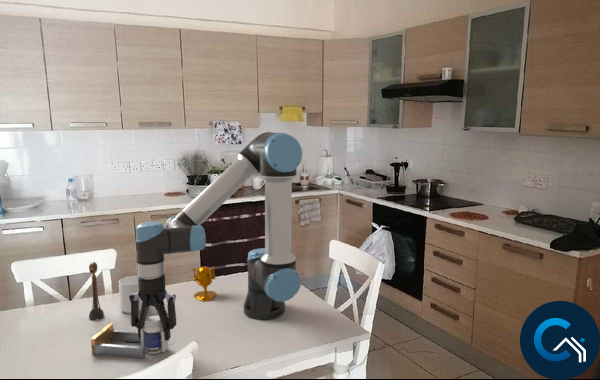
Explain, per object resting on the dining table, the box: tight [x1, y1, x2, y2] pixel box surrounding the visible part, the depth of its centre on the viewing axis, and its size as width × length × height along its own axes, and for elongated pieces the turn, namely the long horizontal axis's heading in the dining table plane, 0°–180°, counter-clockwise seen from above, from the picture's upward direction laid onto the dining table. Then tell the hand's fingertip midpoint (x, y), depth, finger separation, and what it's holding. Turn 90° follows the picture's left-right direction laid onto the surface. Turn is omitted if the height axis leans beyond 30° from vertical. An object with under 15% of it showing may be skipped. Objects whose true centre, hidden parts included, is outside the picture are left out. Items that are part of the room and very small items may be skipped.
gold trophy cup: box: [192, 265, 217, 303], centre depth 172 cm, size 9×11×12 cm
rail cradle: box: [90, 323, 146, 359], centre depth 133 cm, size 16×10×5 cm, turn 83°
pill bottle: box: [144, 315, 163, 355], centre depth 131 cm, size 6×6×10 cm
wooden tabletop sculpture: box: [88, 261, 105, 321], centre depth 152 cm, size 6×5×20 cm
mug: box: [118, 275, 143, 315], centre depth 161 cm, size 12×9×11 cm
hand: (155, 348), depth 132 cm, fingers closed on pill bottle, 6 cm apart
